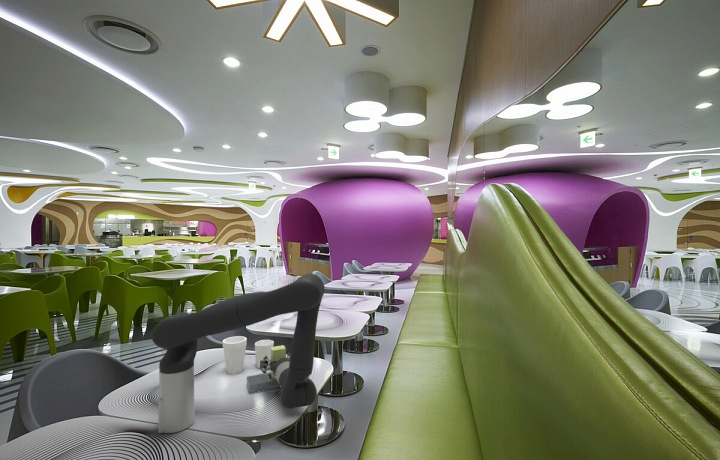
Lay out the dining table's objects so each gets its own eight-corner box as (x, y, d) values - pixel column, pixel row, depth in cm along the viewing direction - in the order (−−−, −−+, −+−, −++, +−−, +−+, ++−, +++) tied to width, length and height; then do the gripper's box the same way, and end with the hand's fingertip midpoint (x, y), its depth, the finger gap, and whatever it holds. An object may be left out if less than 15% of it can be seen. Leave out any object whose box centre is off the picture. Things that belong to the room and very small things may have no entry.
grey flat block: (249, 393, 119) (249, 385, 119) (246, 384, 126) (246, 376, 126) (308, 381, 128) (308, 373, 128) (303, 373, 136) (303, 366, 136)
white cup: (270, 369, 140) (270, 345, 140) (252, 369, 140) (252, 345, 140) (276, 362, 147) (275, 339, 147) (258, 362, 148) (258, 339, 148)
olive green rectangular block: (272, 385, 124) (272, 350, 124) (270, 380, 128) (270, 347, 128) (286, 382, 127) (285, 348, 127) (283, 378, 130) (283, 345, 130)
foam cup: (222, 368, 141) (222, 338, 141) (245, 364, 145) (245, 335, 145) (223, 377, 132) (223, 345, 132) (247, 373, 136) (247, 341, 136)
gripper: (306, 358, 117) (294, 344, 132) (265, 365, 111) (257, 349, 126) (306, 379, 117) (295, 363, 132) (265, 388, 111) (258, 369, 126)
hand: (276, 356), depth 129 cm, fingers open, 8 cm apart
